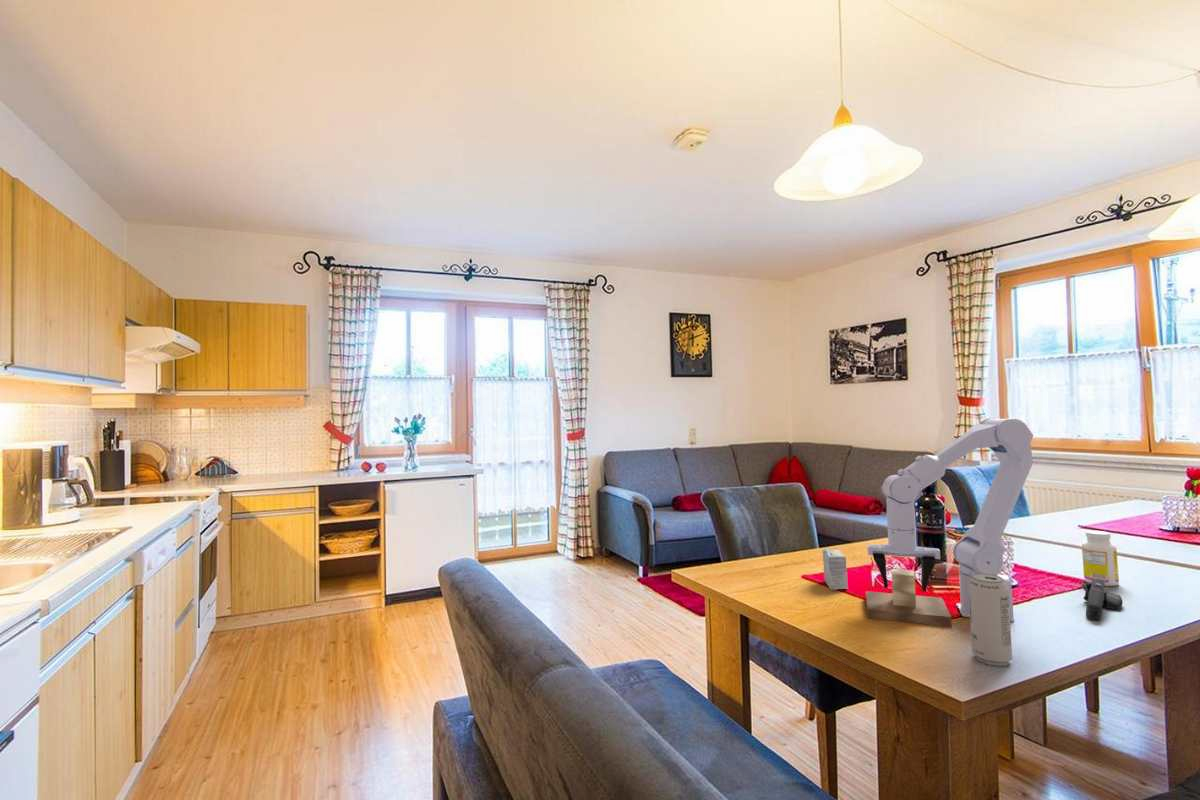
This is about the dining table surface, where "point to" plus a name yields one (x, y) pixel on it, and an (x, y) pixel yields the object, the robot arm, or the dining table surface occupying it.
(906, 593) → the maple block
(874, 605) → the taupe rectangular slab
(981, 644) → the energy drink can
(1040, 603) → the dining table surface
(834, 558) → the medicine box
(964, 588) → the robot arm
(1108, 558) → the supplement bottle
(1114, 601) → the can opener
